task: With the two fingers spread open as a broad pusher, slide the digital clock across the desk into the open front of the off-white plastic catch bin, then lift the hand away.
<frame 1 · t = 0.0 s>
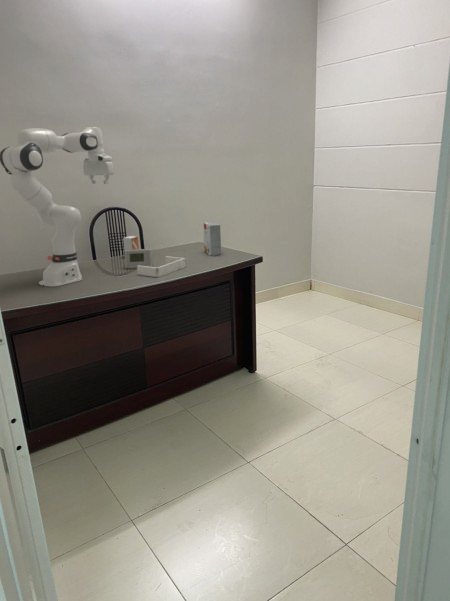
hand: (99, 183, 239), 48 cm above the table, tool pointing down, fingers open, 8 cm apart
catch bin: (158, 269, 243), on the table
hard drive box: (212, 253, 283), on the table
digital clock: (139, 268, 249), on the table
small box: (132, 257, 279), on the table
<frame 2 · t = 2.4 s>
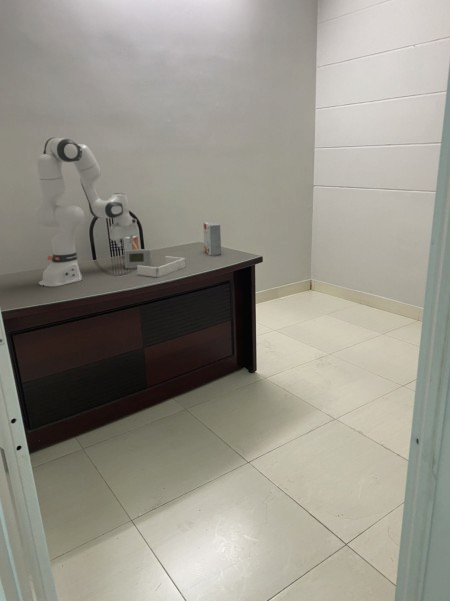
hand: (125, 245, 250), 13 cm above the table, tool pointing down, fingers open, 8 cm apart
nothing on the table moved.
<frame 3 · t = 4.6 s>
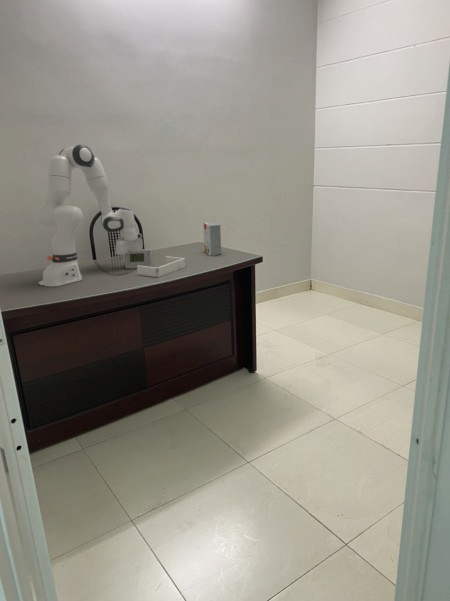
hand: (130, 259, 251), 4 cm above the table, tool pointing down, fingers open, 8 cm apart
digital clock: (139, 268, 249), on the table, touching gripper
everything else where it was.
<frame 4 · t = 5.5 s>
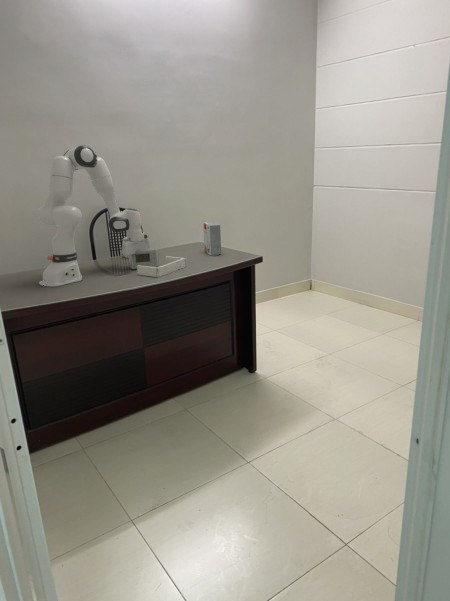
hand: (136, 260, 249), 4 cm above the table, tool pointing down, fingers open, 8 cm apart
digital clock: (145, 268, 248), on the table, touching gripper
everything else where it was.
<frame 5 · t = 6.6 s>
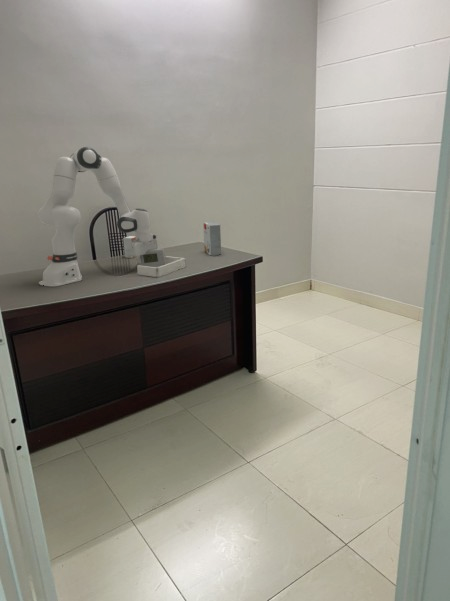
hand: (145, 261, 246), 4 cm above the table, tool pointing down
digital clock: (152, 268, 247), on the table, touching gripper
everything else where it was.
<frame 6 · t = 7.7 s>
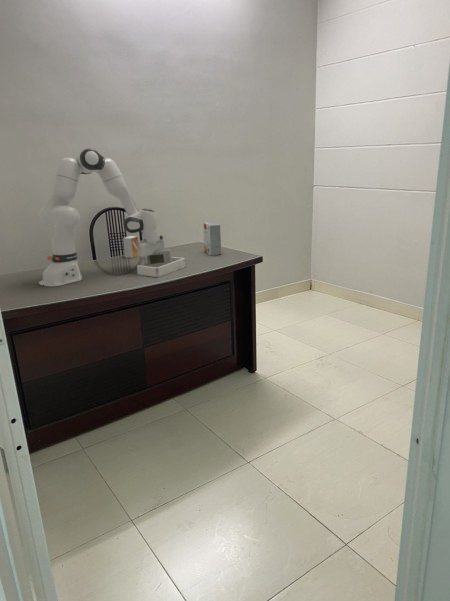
hand: (152, 261, 244), 4 cm above the table, tool pointing down
digital clock: (158, 269, 244), on the table, touching gripper
everything else where it was.
when the fingers open (4 cm above the table, at t = 9.0 s): digital clock moves 2 cm, point 2 cm above the table.
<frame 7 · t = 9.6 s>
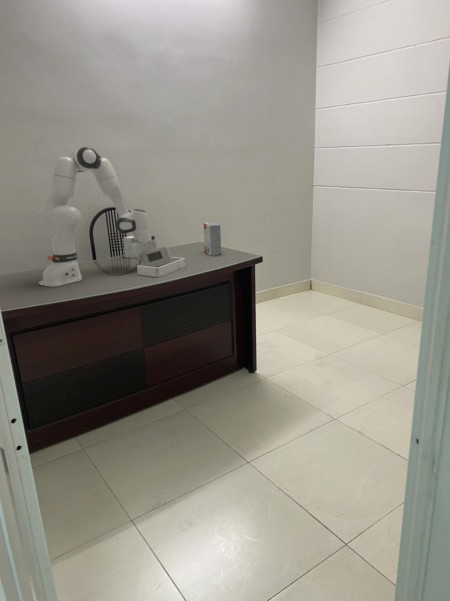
hand: (143, 262, 246), 4 cm above the table, tool pointing down, fingers open, 8 cm apart
digital clock: (159, 267, 242), point 2 cm above the table
everything else where it was.
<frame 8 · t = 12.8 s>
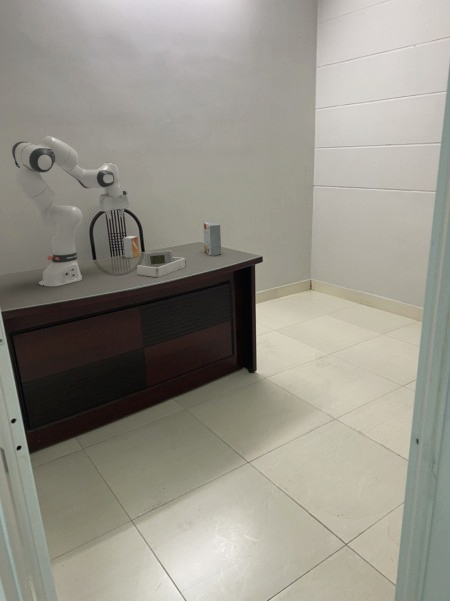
hand: (115, 217, 242), 29 cm above the table, tool pointing down, fingers open, 8 cm apart
digital clock: (160, 270, 243), on the table
everything else where it was.
at the end: digital clock inside the target area on the catch bin (3.1 cm from its centre), point 0.0 cm above the catch bin's base; digital clock tilted 0°; the gripper is holding nothing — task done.
